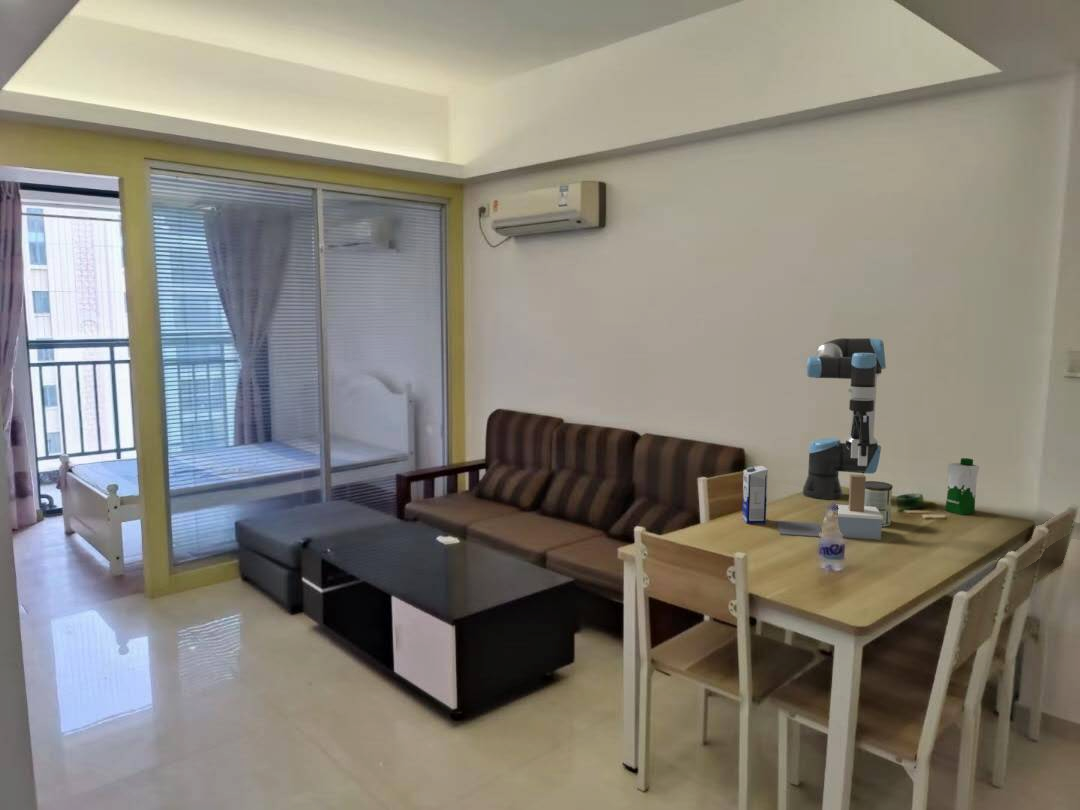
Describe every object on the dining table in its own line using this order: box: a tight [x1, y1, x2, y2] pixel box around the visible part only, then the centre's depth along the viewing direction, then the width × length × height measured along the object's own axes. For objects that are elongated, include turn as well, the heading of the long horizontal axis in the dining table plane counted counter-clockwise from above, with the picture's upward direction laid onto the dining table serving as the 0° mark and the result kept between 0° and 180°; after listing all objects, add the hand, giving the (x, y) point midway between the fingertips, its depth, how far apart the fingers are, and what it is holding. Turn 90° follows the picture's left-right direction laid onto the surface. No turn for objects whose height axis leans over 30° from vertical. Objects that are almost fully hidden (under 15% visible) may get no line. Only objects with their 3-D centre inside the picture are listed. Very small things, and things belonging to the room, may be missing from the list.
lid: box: [837, 473, 883, 519], centre depth 249 cm, size 13×15×15 cm
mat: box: [776, 520, 821, 538], centre depth 254 cm, size 16×14×1 cm
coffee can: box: [864, 480, 894, 528], centre depth 262 cm, size 10×10×14 cm
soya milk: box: [944, 457, 980, 516], centre depth 275 cm, size 9×9×20 cm
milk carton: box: [741, 465, 769, 525], centre depth 264 cm, size 7×7×20 cm
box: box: [837, 517, 882, 540], centre depth 250 cm, size 12×14×7 cm
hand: (858, 461), depth 247 cm, fingers open, 13 cm apart
